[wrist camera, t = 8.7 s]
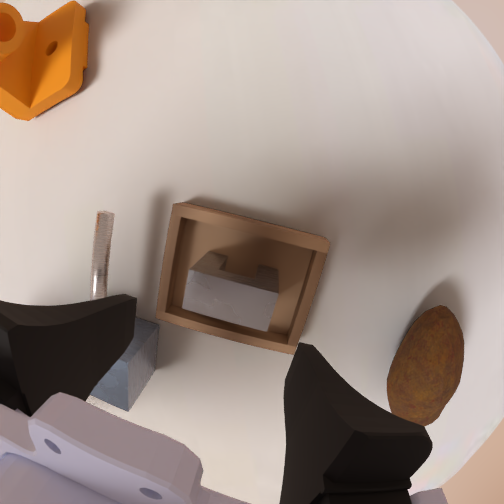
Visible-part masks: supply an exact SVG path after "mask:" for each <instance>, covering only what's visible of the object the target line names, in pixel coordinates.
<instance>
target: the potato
mask: <svg viewBox="0 0 504 504" xmlns="http://www.w3.org/2000/svg"><path fill="white" fill-rule="evenodd" d="M463 362H464V339H463V333H462V330H461V328H460V325H459V323H458V321H457V319H456V317H455V315H454V314H453V313H452V312H451V311H450V310H449V309H448V308H447V307H445V306H442V305H439V306H437V307H434V308H432V309H429V310H427V311H425V312H424V313H423V314H422V315H421V316H420V317H419V318H418V319H417V320H416V321H415V322H414V323H413V325H412V326H411V328H410V329H409V331H408V332H407V334H406V336H405V338H404V340H403V342H402V343H401V345H400V347H399V348H398V351H397V353H396V355H395V357H394V359H393V361H392V364H391V367H390V370H389V374H388V377H387V396H388V401H389V406H390V409H391V412H392V414H394V415H396V416H398V417H400V418H403V419H405V420H408V421H411V422H414V423H417V424H419V425H422V426H426V425H429V424H431V423H433V422H434V421H435V420H436V419H437V418H438V417H439V416H440V414H441V412H442V410H443V409H444V407H445V405H446V404H447V403H448V402H449V400H450V399H451V397H452V396H453V394H454V393H455V391H456V389H457V387H458V385H459V383H460V379H461V374H462V368H463Z"/></svg>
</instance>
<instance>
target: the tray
mask: <svg viewBox="0 0 504 504" xmlns="http://www.w3.org/2000/svg"><path fill="white" fill-rule="evenodd" d="M329 246H330V242H329V241H328V240H327V239H326V238H324V237H321V236H317V235H313V234H309V233H306V232H302V231H298V230H294V229H290V228H287V227H283V226H279V225H275V224H271V223H267V222H263V221H259V220H255V219H251V218H247V217H243V216H239V215H235V214H231V213H226V212H222V211H218V210H214V209H210V208H205V207H201V206H197V205H192V204H188V203H184V202H182V203H176V204H173V208H172V213H171V218H170V223H169V229H168V234H167V240H166V246H165V252H164V258H163V265H162V271H161V278H160V285H159V293H158V301H157V309H156V317H155V318H157V319H160V320H164V321H167V322H170V323H173V324H176V325H179V326H183V327H186V328H189V329H193V330H196V331H200V332H203V333H207V334H210V335H214V336H217V337H221V338H225V339H229V340H232V341H236V342H240V343H244V344H248V345H252V346H256V347H261V348H265V349H269V350H274V351H278V352H283V353H287V354H292V355H294V353H295V350H296V347H297V345H298V342H299V339H300V336H301V333H302V331H303V328H304V325H305V322H306V319H307V316H308V313H309V310H310V307H311V304H312V301H313V298H314V295H315V292H316V289H317V286H318V283H319V279H320V276H321V273H322V270H323V266H324V263H325V260H326V257H327V253H328V250H329ZM208 251H212V252H215V253H219V254H223V255H227V256H228V259H227V263H226V267H225V271H226V272H230V273H234V274H238V275H241V276H245V277H249V278H253V279H255V276H256V273H257V269H258V265H259V264H261V265H264V266H268V267H272V268H276V269H278V277H279V295H278V298H277V301H276V304H275V308H274V311H273V314H272V317H271V321H270V324H269V327H268V330H267V332H266V331H262V330H258V329H254V328H250V327H246V326H242V325H238V324H235V323H231V322H227V321H224V320H220V319H217V318H213V317H210V316H206V315H203V314H199V313H196V312H193V311H189V310H186V309H183V308H182V305H183V300H184V294H185V289H186V283H187V278H188V273H189V269H190V268H191V267H192V266H193V265H194V264H195V263H196V262H198V261H199V260H200V259H201V258H202V257H203V256H204V255H205V254H206V253H207V252H208Z"/></svg>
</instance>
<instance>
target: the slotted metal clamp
mask: <svg viewBox="0 0 504 504" xmlns="http://www.w3.org/2000/svg"><path fill="white" fill-rule="evenodd" d="M227 259H228V256H227V255H223V254H219V253H215V252H212V251H208V252H207V253H206V254H205V255H204V256H203V257H202V258H201V259H200V260H199V261H198V262H196V263H195V264H194V265H193V266H192V267H191V268H190V269H189V273H188V278H187V283H186V289H185V294H184V300H183V305H182V308H183V309H186V310H189V311H193V312H196V313H199V314H203V315H206V316H210V317H213V318H217V319H220V320H224V321H227V322H231V323H235V324H238V325H242V326H246V327H250V328H254V329H258V330H262V331H266V332H267V330H268V327H269V324H270V321H271V317H272V314H273V311H274V308H275V304H276V301H277V298H278V295H279V277H278V269H276V268H272V267H268V266H264V265H261V264H259V265H258V269H257V273H256V276H255V279H253V278H249V277H245V276H241V275H238V274H234V273H230V272H226V271H225V267H226V263H227Z"/></svg>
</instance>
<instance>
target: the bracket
mask: <svg viewBox="0 0 504 504" xmlns="http://www.w3.org/2000/svg"><path fill="white" fill-rule="evenodd" d="M85 16H86V9H85V8H84V7H82V6H81V5H80V4H79V3H77V2H76V1H70V2H68V3H67V4H65V5H64V6H62V7H61V8H59V9H57V10H56V11H54V12H53V13H51V14H50V15H49V16H47V17H46V18H44V19H43V20H41V21H40V22H29V21H23V19H22V17H21V15H20V13H19V12H18V11H17V10H16V9H15V8H14V7H13V6H11V5H9V4H7V3H0V108H1V109H2V110H4V111H5V112H7V113H8V114H10V115H11V116H13V117H14V118H16V119H21V120H26V121H29V120H31V119H32V118H34V117H36V116H37V115H39V114H40V113H42V112H43V111H45V110H47V109H48V108H50V107H52V106H53V105H55V104H57V103H58V102H60V101H62V100H64V99H65V98H67V97H69V96H71V95H73V94H75V93H76V92H77V91H78V90H79V89H80V87H81V85H82V82H83V70H84V69H86V68H87V57H88V32H89V24H88V23H86V22H85Z"/></svg>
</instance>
